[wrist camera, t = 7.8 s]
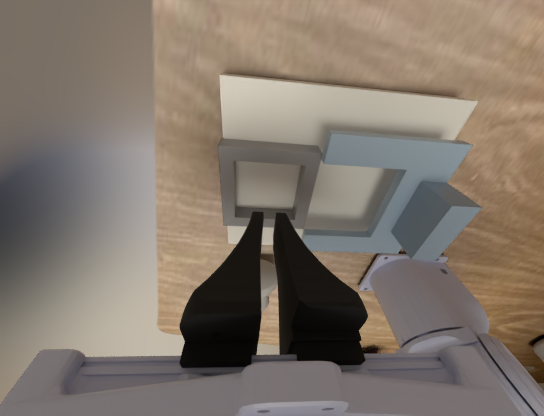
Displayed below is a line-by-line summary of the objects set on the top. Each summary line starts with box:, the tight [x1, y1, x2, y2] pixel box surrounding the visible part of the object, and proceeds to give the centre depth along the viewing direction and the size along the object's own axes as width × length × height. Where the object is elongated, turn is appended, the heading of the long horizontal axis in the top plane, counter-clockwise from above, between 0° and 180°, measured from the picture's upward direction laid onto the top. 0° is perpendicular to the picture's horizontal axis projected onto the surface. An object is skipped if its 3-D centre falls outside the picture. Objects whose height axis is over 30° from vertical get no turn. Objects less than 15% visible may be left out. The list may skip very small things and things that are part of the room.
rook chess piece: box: [260, 259, 278, 311], centre depth 26 cm, size 4×4×8 cm
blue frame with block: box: [301, 130, 482, 260], centre depth 15 cm, size 9×11×4 cm
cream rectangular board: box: [218, 73, 478, 245], centre depth 18 cm, size 18×15×3 cm
